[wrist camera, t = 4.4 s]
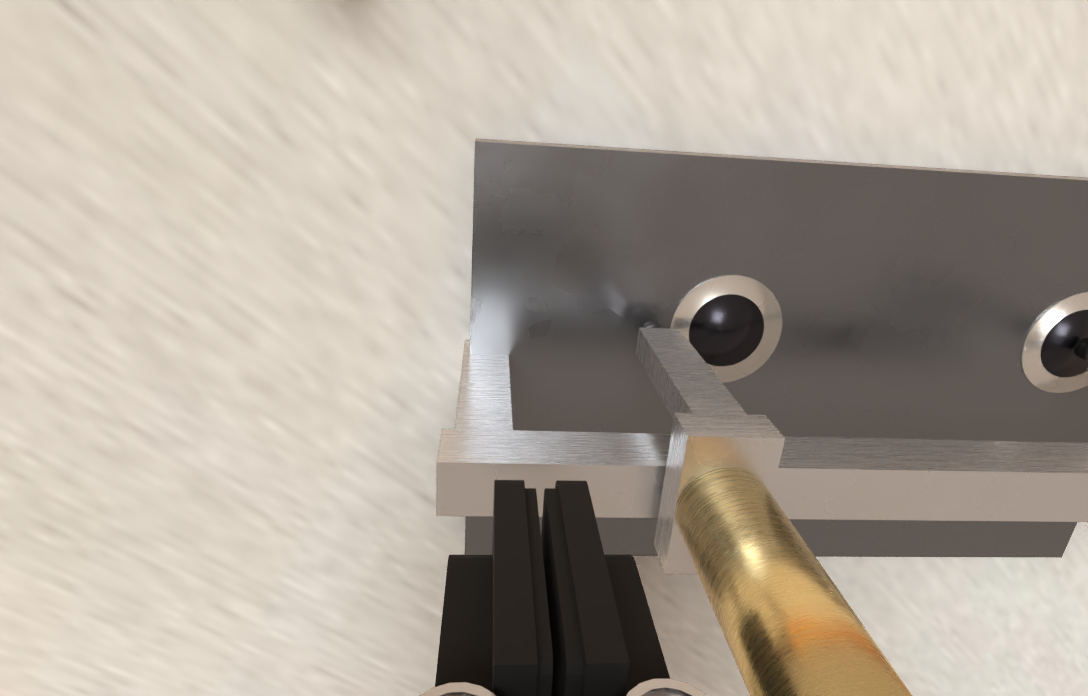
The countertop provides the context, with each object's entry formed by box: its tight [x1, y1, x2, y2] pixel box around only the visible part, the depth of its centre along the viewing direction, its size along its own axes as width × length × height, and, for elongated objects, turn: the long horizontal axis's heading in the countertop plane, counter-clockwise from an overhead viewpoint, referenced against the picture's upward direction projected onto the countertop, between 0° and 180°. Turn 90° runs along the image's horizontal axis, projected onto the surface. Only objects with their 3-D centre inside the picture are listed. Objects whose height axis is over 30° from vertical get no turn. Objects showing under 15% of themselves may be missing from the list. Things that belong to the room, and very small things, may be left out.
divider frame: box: [436, 338, 1088, 522], centre depth 17 cm, size 3×23×10 cm, turn 86°
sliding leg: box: [636, 321, 912, 696], centre depth 13 cm, size 3×2×14 cm, turn 176°
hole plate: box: [465, 139, 1088, 557], centre depth 22 cm, size 14×23×1 cm, turn 86°
